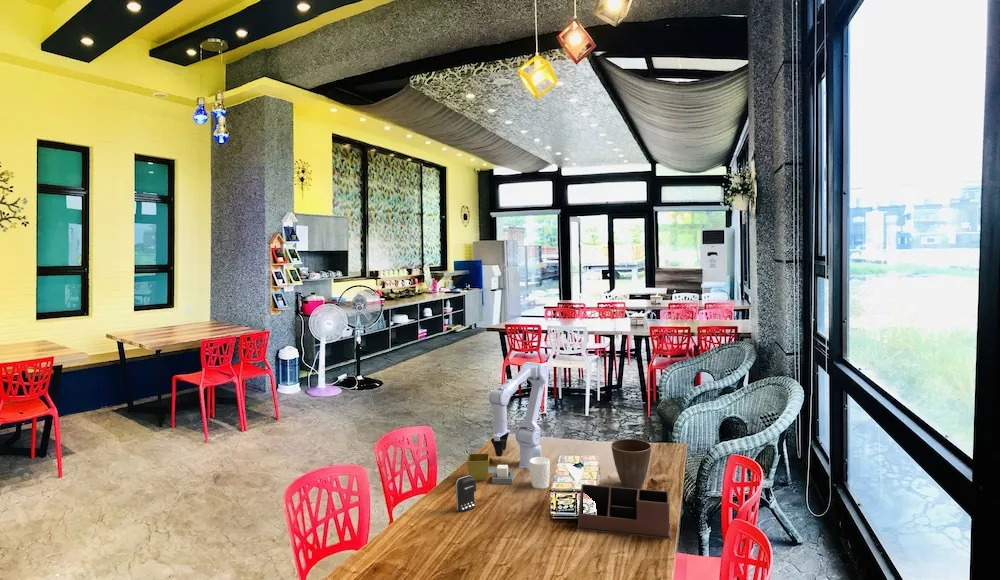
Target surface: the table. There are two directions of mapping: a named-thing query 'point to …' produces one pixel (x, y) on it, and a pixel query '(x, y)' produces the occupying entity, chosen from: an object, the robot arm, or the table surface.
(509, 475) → the socket housing
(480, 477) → the flower pot
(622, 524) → the desk organizer
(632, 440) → the plant pot
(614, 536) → the table surface
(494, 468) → the mat
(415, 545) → the table surface
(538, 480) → the white cup
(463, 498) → the battery charger
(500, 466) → the plug
